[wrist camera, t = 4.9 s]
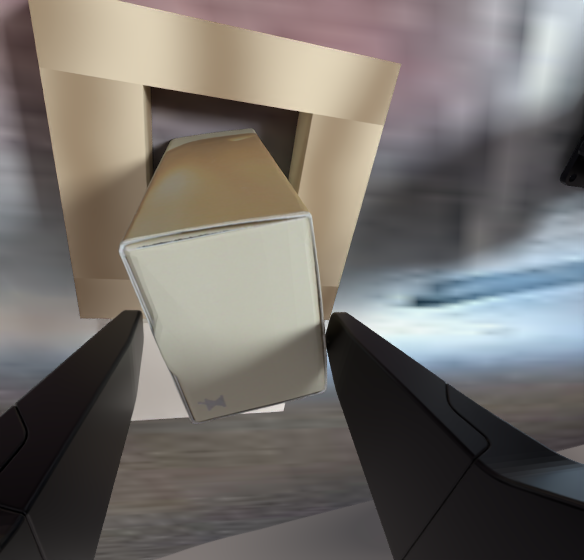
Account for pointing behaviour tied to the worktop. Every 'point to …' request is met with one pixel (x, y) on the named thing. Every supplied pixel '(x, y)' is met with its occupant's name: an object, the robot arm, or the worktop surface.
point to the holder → (205, 81)
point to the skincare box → (228, 276)
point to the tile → (162, 386)
